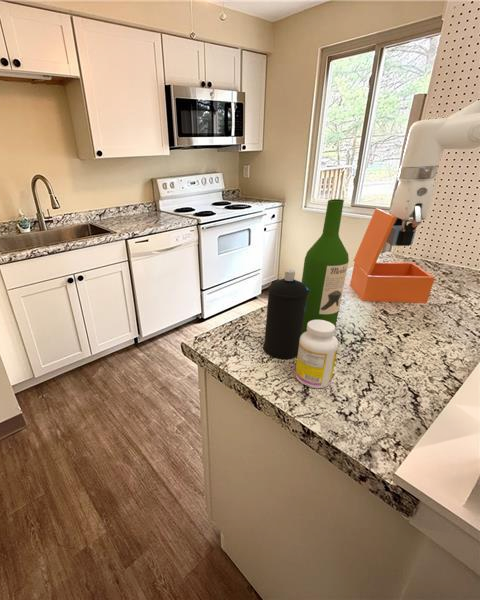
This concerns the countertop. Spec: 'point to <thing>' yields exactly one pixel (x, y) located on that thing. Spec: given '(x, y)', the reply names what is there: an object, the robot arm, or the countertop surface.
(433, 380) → the countertop surface
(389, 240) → the light blue cube
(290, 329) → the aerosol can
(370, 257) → the orange box lid
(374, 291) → the orange hinged box
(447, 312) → the countertop surface
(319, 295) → the wine bottle
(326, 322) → the supplement bottle
